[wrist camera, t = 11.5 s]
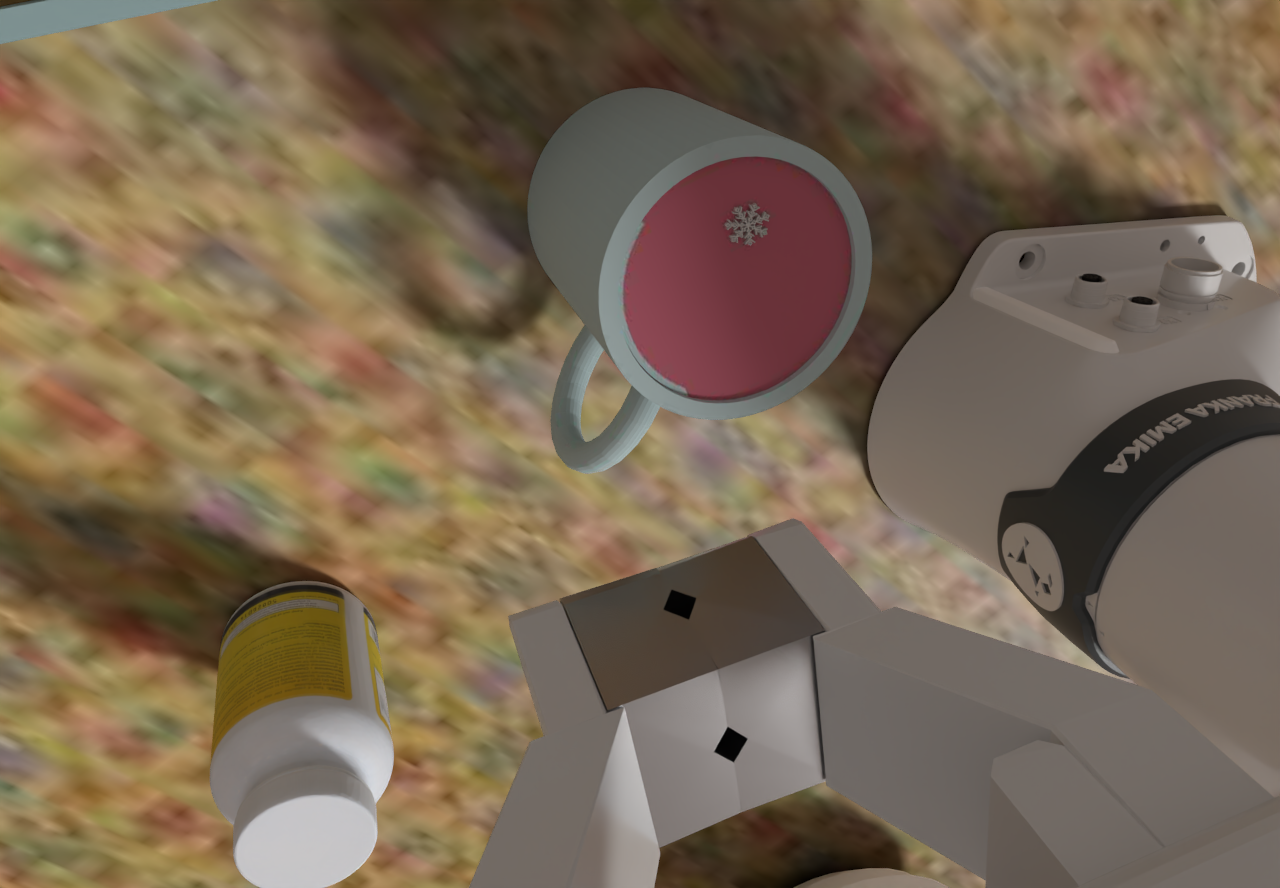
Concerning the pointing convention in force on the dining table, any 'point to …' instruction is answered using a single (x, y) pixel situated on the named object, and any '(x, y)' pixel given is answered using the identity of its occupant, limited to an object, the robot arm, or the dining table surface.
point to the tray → (74, 15)
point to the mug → (692, 263)
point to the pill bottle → (300, 735)
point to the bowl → (871, 880)
